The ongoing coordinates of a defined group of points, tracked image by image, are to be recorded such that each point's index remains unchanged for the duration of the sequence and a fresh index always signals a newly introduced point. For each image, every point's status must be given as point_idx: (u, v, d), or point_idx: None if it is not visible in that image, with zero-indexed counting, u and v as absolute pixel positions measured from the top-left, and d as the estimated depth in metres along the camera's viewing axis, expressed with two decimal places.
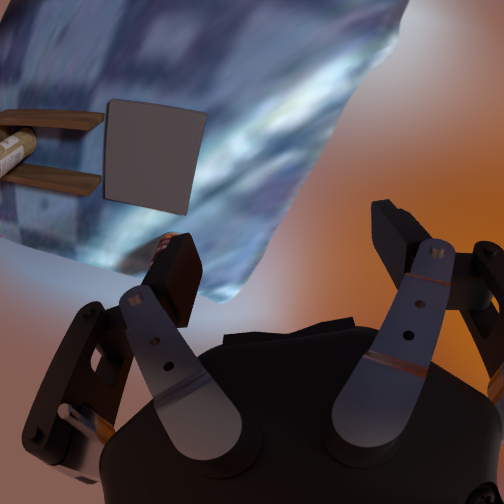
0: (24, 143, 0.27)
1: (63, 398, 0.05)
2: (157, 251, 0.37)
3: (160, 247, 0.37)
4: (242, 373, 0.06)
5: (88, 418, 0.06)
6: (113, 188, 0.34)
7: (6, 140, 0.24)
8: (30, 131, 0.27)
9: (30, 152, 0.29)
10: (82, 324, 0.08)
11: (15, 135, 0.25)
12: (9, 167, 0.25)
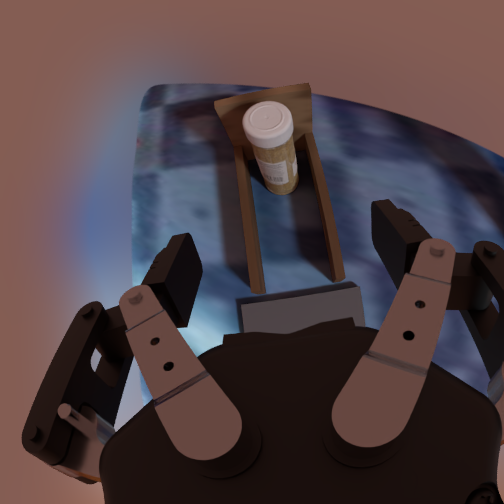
0: (288, 183, 0.33)
1: (63, 398, 0.05)
2: None
3: None
4: (242, 373, 0.06)
5: (88, 418, 0.06)
6: (257, 313, 0.33)
7: None
8: (296, 185, 0.35)
9: (271, 189, 0.35)
10: (82, 324, 0.08)
11: None
12: (268, 171, 0.30)
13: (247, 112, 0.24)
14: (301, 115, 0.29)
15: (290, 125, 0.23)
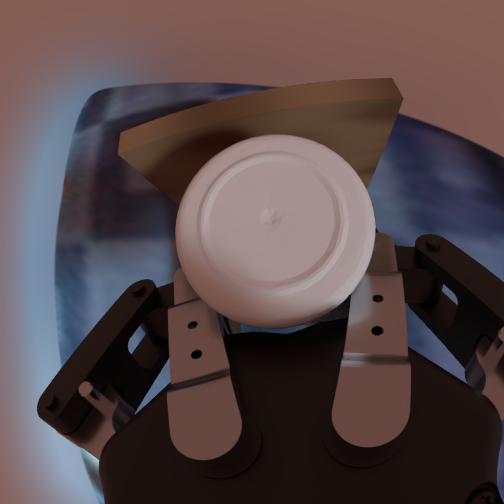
0: None
1: (88, 376, 0.06)
2: None
3: None
4: (242, 373, 0.06)
5: (109, 400, 0.06)
6: None
7: None
8: None
9: None
10: (129, 302, 0.08)
11: None
12: None
13: (195, 186, 0.06)
14: (355, 161, 0.12)
15: None
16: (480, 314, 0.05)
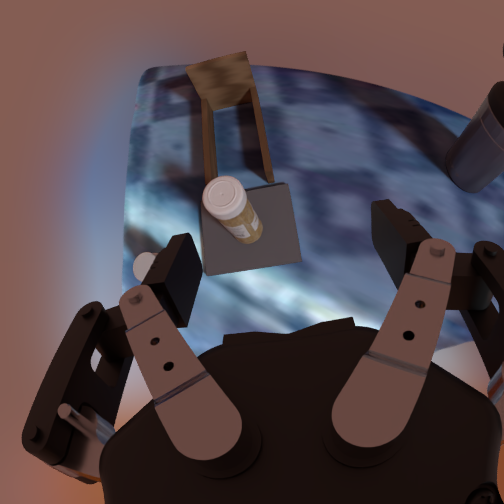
0: (251, 236, 0.39)
1: (63, 398, 0.05)
2: None
3: None
4: (242, 373, 0.06)
5: (88, 418, 0.06)
6: None
7: (256, 217, 0.37)
8: (260, 235, 0.41)
9: (238, 239, 0.41)
10: (82, 324, 0.08)
11: (258, 222, 0.39)
12: (230, 230, 0.35)
13: (206, 187, 0.30)
14: (244, 73, 0.40)
15: (241, 201, 0.29)
16: None
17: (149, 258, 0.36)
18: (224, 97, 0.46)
